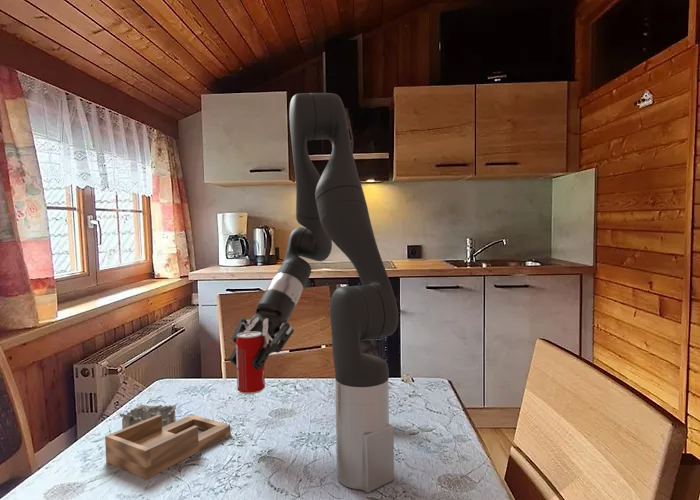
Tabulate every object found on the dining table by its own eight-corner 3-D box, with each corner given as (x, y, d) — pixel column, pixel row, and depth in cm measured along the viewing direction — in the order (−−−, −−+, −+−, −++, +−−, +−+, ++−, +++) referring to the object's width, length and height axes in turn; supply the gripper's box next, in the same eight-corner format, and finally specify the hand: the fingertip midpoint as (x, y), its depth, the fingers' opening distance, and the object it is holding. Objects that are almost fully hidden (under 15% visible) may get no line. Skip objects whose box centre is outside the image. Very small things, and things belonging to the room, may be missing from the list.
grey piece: (117, 433, 101) (116, 414, 101) (135, 418, 108) (134, 401, 108) (165, 433, 100) (164, 414, 100) (180, 418, 108) (179, 401, 107)
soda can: (268, 391, 95) (266, 333, 94) (242, 397, 92) (240, 337, 91) (259, 384, 99) (257, 328, 99) (234, 389, 97) (232, 331, 96)
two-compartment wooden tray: (230, 434, 98) (230, 411, 98) (146, 479, 81) (145, 451, 81) (192, 423, 104) (191, 401, 104) (106, 462, 87) (105, 436, 87)
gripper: (247, 286, 105) (208, 351, 95) (298, 289, 97) (261, 360, 88) (264, 306, 110) (228, 369, 100) (314, 310, 102) (280, 379, 93)
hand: (244, 365), depth 94 cm, fingers closed on soda can, 5 cm apart
